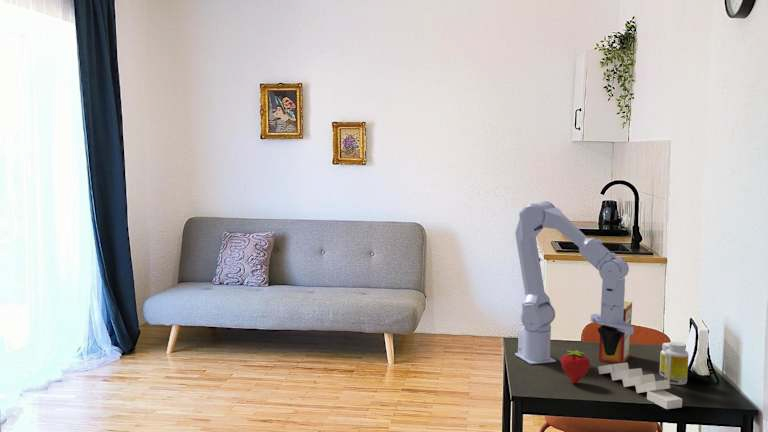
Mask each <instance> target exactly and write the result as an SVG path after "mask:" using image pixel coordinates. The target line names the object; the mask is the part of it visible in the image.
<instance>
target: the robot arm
mask: <svg viewBox="0 0 768 432" xmlns="http://www.w3.org/2000/svg"><path fill="white" fill-rule="evenodd" d="M518 215H519V219H518V223H517V226H516V229H515V232H514V233H515V242H516V246H517V252H518V259H519V266H520V271H521V276H522V277H521V278H522V283H523V289H524V298H523V301H522V303H521V307H522V308H521V309H522V312H521V314H520V315H521V316H520V321H521V323H522V325H523V326H522V327H521V328H520V329H519V330H518V331H519V332H518V340H517V341H518V343H517V352H514V355H515V356H516V357H518V358H520V359H521V360H523V361H525V362H527V363H528V364H529V365H538V364H548V363H556V362H557V360H556V359H554V358H553V357H551V339H552V337H551V336H552V334H551V333H552V326H551V323H552V322H554V320H555V317H556V310H555V308H554V307H553V305H552V302H551V299H550V297H549V295H547V294H546V292H545V287H544V286H545V285H544V280H543V274H542V267H541V262H540V254H539V250H538V244H537V236H538V235H539V234H540V233H541V232H542V230H543V229H544V228H547V229H556V230H557V231H558V232H560V233H561V234H562V235H563V236H565V237H566V238H567V239H568V240H569V241H570V242H572V243H573V244H574V245H575V246H577V247H578V251H579V255H580V256H582V257H583V259H585V260H586V261H587V262H588V263H590V264H591V265H592V266H593V267H594V268H595V269H596V270H597V271H598V274H599V275H600V278H601V279H602V283H601V285H602V286H601V299H600V301H601V303H600V314H598V313H593V314H590V323H596V324H598V325H600V326H601V325H602V326H601V327H599V326H598V328H597V331H598V334H599V337H600V336H601V338H602V341H603V345H604V350H605V354H606V355H608V356H611V355H615V352H616V349H617V346H618V343H619V341H620V339H621V338H622V336H623V335H624V333H625V334H626V335H630V336H631V335H634V333H635V332H634V328H635V327H634V326H632V325H631V326H630V325H629V324H627V323H626V322H624V321H623V313H624V302H625V292H626V287H625V286H626V278H625V277H626V276H627V275H628V274H629V272H630V268H629V264H628V262H627V261H626V260H625V259H624V258H623V257H622V256H617V254H616V253H615V252H612V251H610V250H609V249H608V248H607V247H606V246H604V244H603V241H602V240H601V239H600V238H599V239H596V238H595V237H589V238H588V237H587V236H586V235H585V234H584V233H583V232H582V230H580V229H579V228H578V227H577V226H576V225H575V224H574V223H573V222H572V221H571V220H570V219H569V218H567V216H565V214H564V213H563V211H562V210H561V209H560V208H558V207H556V206H555V205H554V204H553V202H550V201H545V200H544V201H541V202H537V203H529V204H527V205H525V207H523V208H522V210H520V211H519V214H518Z"/></svg>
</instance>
